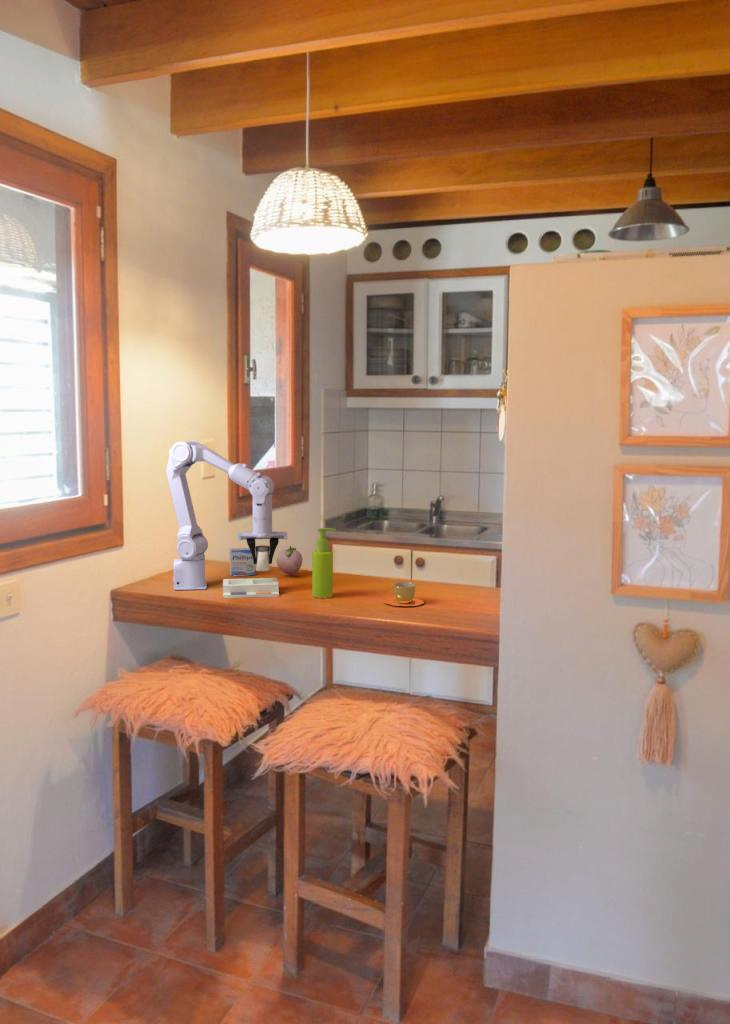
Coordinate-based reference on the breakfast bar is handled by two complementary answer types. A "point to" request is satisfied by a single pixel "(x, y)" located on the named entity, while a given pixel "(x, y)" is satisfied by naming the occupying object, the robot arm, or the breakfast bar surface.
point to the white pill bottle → (262, 558)
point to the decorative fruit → (289, 561)
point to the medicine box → (241, 562)
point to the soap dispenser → (322, 567)
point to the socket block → (250, 588)
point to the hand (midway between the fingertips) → (262, 563)
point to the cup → (404, 591)
